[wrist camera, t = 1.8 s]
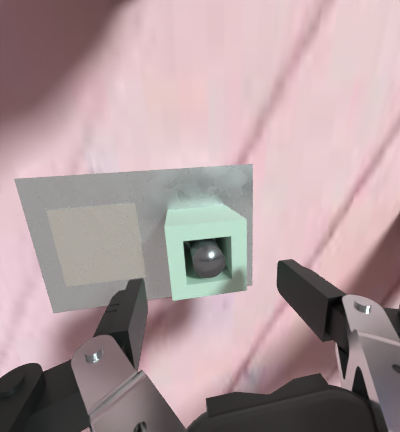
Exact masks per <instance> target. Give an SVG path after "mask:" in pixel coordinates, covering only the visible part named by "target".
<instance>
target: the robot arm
mask: <svg viewBox="0 0 400 432" xmlns="http://www.w3.org/2000/svg"><path fill="white" fill-rule="evenodd" d="M277 288H278V291H279V293H280V294H281V296H282V297H283V298H284V299H285V300H286V301H287V302H288V303H289V305H290V306H291V307H292V308H293V309H294V310H295V311H296V312H297V314H298V315H299V316H300V317H301V318H302V319H303V320H304V321H305V323H306V324H307V325H308V326H309V327H310V328H311V329H312V330H313V332H314V333H315V334H316V335H317V336H318V337H319V338H320V339H321V341H322V342H324V341H329V340H334V341H335V342H336V345H335V351H336V358H337V364H338V370H339V376H340V382H341V387H337V386H333V385H328V383H327V382H326V381H325V379H324V378H323V377H322V375H321V374H320V373H319V374H314V375H310V376H305V377H301V378H296V379H293V380H292V381H290V382H289V383H287V384H286V385H284V386H282V387H281V388H279V389H278V390H276V391H275V392H273V393H272V394H269V395H265V394H254V393H243V392H233V393H229V394H224V395H220V396H215V397H210V398H206V407H207V411H206V412H205V413H203V414H202V415H200V416H199V417H198V418H197V419H196V420H194V421H193V422H192V423H191V425H190V426H189V427H188V428H187V429H185V427H184V426H183V424H182V423H181V422H180V420H179V419H178V417H177V416H176V415H175V413H174V412H173V411H172V409H171V408H170V406H169V405H168V404H167V402H166V401H165V399H164V398H163V397H162V395H161V394H160V393H159V391H158V390H157V388H156V387H155V386H154V384H153V383H152V381H151V380H150V379H149V377H148V376H147V375H146V373H145V372H144V371H142V370H141V371H139V372H138V367H139V361H140V355H141V349H142V343H143V337H144V331H145V325H146V319H147V313H148V304H147V296H146V289H145V282H144V279H143V278H139V279H131V280H129V281H128V284H127V286H126V289H125V290H120V291H118V292H117V293H116V294H115V295H114V296H113V297H112V298H111V300H110V302H109V305H108V307H107V309H106V311H105V313H104V315H103V317H102V319H101V321H100V324H99V326H98V328H97V330H96V332H95V334H94V336H93V338H91V339H90V340H88V341H86V342H85V343H84V344H82V345H81V346H80V347H79V348H78V349H77V351H76V352H75V353H74V355H73V357H72V359H71V360H69V361H67V362H65V363H63V364H60V365H58V366H56V367H53V368H51V369H49V370H46V371H44V372H43V370H42V367H41V366H40V365H39V364H37V363H29V364H25V365H22V366H19V367H17V368H15V369H13V370H12V371H10V372H8V373H7V374H5V375H4V376H2V377H1V378H0V432H81V431H82V430H84V429H86V428H87V427H89V429H90V432H400V305H399V309H391V308H382V307H381V306H380V305H379V304H377V303H376V302H374V301H372V300H370V299H368V298H366V297H362V296H359V295H346V294H345V293H344V292H342V291H341V290H339V289H338V288H336V287H335V286H334V285H332V284H331V283H329V282H328V281H325V279H324V278H322V277H321V276H319V275H318V274H316V273H315V272H314V271H312V270H310V269H308V268H305V267H303V266H301V265H300V264H298V263H297V262H296V261H294V260H292V259H289V260H281V261H279V262H278V267H277Z"/></svg>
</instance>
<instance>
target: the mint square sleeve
mask: <svg viewBox="0 0 400 432" xmlns="http://www.w3.org/2000/svg"><path fill="white" fill-rule="evenodd" d="M164 228H165V237H166V246H167V255H168V264H169V272H170V281H171V290H172V299H173V301H175V300H182V299H189V298H196V297H203V296H210V295H217V294H224V293H231V292H238V291H245V290H247V219H246V218H244V217H243V216H241V215H240V214H238V213H236V212H235V211H233V210H232V209H230V208H229V207H227V206H226V205H222V206H211V207H199V208H188V209H176V210H168V211H167V216H166V221H165V226H164ZM209 238H215V239H216V243H217V245H218V247H219V248H220V250H221V252H222V253H223V255H224V257H225V261H226V262H225V267H224V269H223V271H222V272H221V273H220V274H219V275H218V276H216V277H213V278H204V277H201V276H199V275H198V274H197V273H196V272H195V270H194V266H193V261H192V256H191V252H185V253H184V248H183V241H190V240H200V239H209Z"/></svg>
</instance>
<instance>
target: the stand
mask: <svg viewBox="0 0 400 432" xmlns="http://www.w3.org/2000/svg"><path fill="white" fill-rule="evenodd" d="M14 180H15V183H16V187H17V190H18V194H19V197H20V200H21V204H22V207H23V211H24V214H25V217H26V221H27V224H28V228H29V231H30V234H31V238H32V241H33V245H34V248H35V251H36V255H37V258H38V262H39V265H40V268H41V272H42V275H43V279H44V282H45V285H46V289H47V292H48V296H49V299H50V302H51V306H52V309H53V313H59V312H66V311H73V310H80V309H87V308H94V307H101V306H108V305H109V302H110V300H111V298H112V297H113V296H114V295H115V294H116V293H117V292H118V291H120V290H125V289H126V286H127V284H128V281H129V280H131V279H139V278H143V279H144V282H145V289H146V296H147V300H151V299H158V298H166V297H172V290H171V281H170V272H169V264H168V255H167V246H166V237H165V228H164V226H165V221H166V216H167V211H168V210H176V209H188V208H199V207H211V206H222V205H226V206H227V207H229V208H230V209H232V210H233V211H235V212H236V213H238V214H240V215H241V216H243V217H244V218H246V219H247V286H251V285H252V214H253V164H246V165H230V166H214V167H198V168H182V169H166V170H150V171H134V172H118V173H102V174H86V175H70V176H54V177H38V178H22V179H14ZM183 248H184V253H185V252H191V256H192V261H193V266H194V270H195V272H196V273H197V274H198V275H199V276H201V277H204V278H213V277H216V276H218V275H219V274H220V273H221V272H222V271H223V269H224V267H225V262H226V261H225V257H224V255H223V253H222V252H221V250H220V248H219V247H218V245H217V243H216V239H215V238H209V239H200V240H190V241H183Z"/></svg>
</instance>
